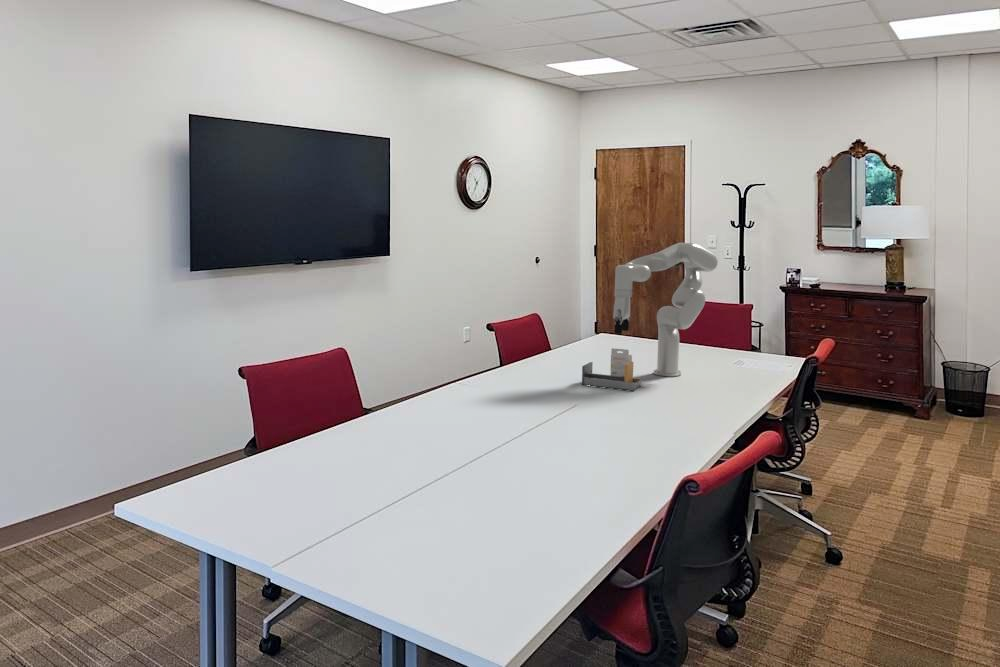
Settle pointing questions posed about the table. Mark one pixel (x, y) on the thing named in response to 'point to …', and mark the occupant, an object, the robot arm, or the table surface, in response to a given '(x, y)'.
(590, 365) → the lane
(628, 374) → the block
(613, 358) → the ink cartridge box
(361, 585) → the table surface
